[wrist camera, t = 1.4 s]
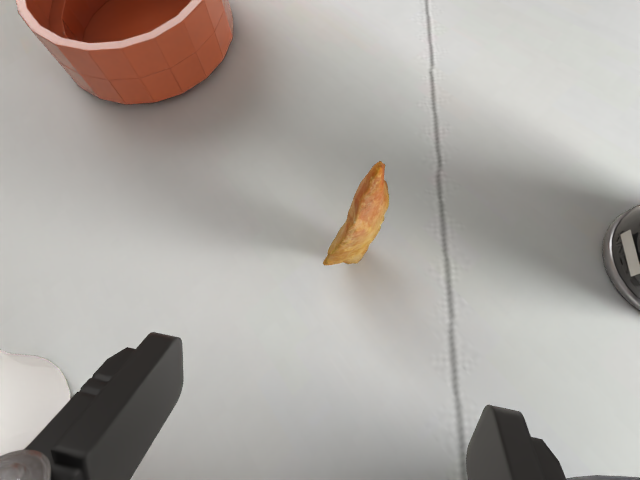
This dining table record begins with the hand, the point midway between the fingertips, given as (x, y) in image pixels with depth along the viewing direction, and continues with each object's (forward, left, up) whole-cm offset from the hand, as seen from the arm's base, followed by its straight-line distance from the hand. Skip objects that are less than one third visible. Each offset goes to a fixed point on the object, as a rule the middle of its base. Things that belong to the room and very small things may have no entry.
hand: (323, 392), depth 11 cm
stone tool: (-2, -9, -20) cm, 22 cm away
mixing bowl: (+16, -33, -20) cm, 42 cm away
